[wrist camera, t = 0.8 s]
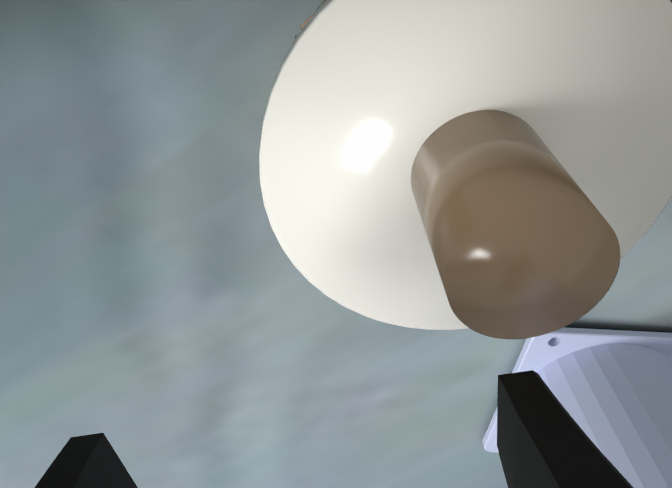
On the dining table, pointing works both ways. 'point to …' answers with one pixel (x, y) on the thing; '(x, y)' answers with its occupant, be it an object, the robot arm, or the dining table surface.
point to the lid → (470, 156)
